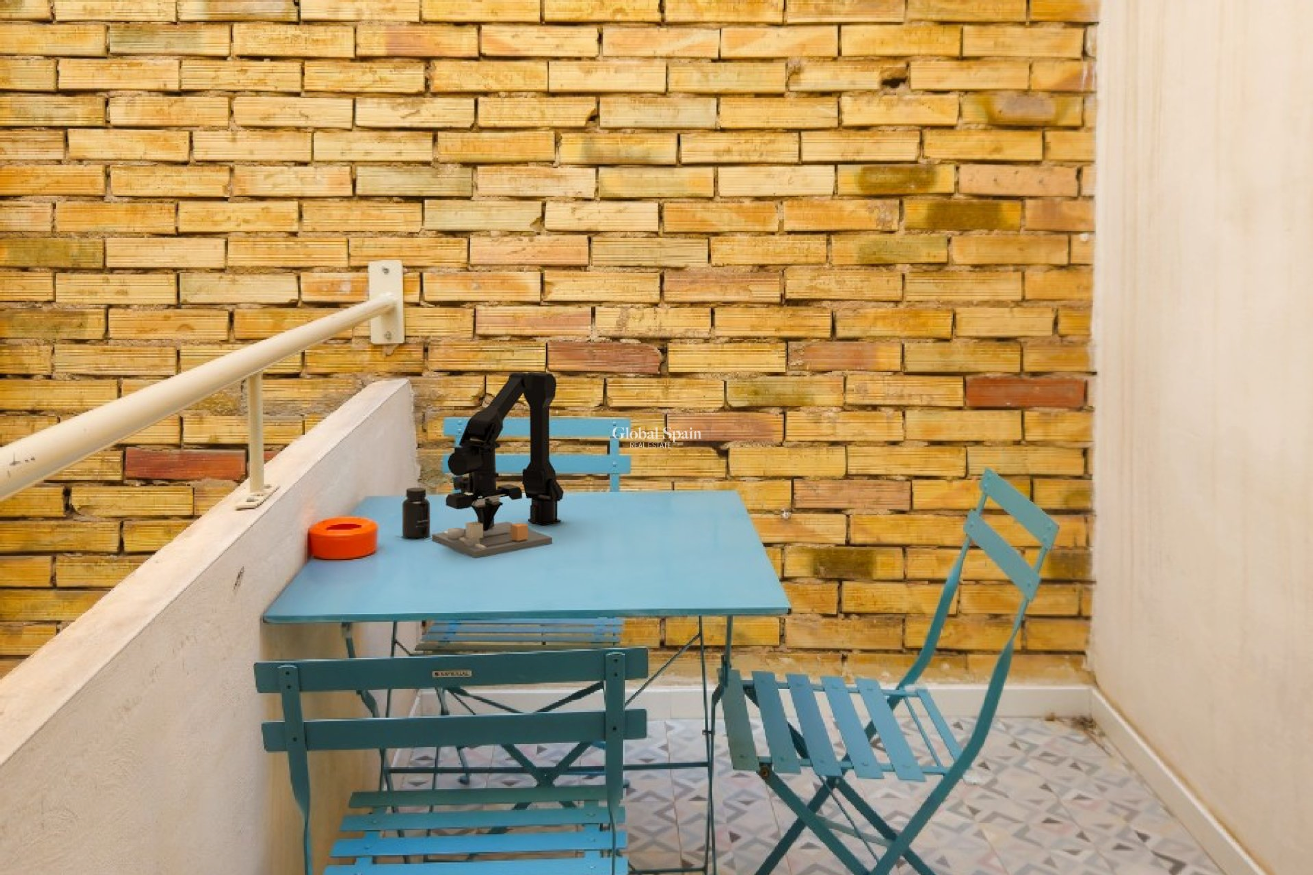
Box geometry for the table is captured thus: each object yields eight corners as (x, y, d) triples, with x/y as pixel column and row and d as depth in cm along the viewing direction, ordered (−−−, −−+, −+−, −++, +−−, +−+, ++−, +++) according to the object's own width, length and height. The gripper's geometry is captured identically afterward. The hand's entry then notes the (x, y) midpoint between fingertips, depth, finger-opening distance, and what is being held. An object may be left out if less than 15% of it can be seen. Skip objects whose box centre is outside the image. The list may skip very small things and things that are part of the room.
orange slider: (520, 536, 302) (520, 522, 301) (527, 538, 299) (527, 524, 299) (510, 538, 300) (510, 524, 299) (517, 540, 298) (517, 526, 297)
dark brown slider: (487, 524, 313) (487, 511, 312) (494, 526, 311) (494, 513, 310) (477, 526, 311) (477, 512, 310) (484, 528, 309) (483, 514, 308)
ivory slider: (476, 535, 302) (476, 521, 302) (482, 537, 300) (482, 523, 299) (465, 537, 300) (465, 523, 300) (472, 539, 298) (472, 525, 297)
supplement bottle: (424, 540, 304) (423, 492, 302) (398, 538, 305) (397, 491, 303) (434, 533, 311) (433, 487, 309) (409, 531, 312) (408, 485, 310)
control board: (507, 527, 318) (507, 513, 318) (552, 543, 303) (552, 529, 303) (432, 540, 304) (432, 526, 304) (475, 557, 289) (475, 543, 289)
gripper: (498, 458, 311) (499, 518, 314) (433, 468, 299) (435, 530, 302) (523, 465, 303) (524, 527, 305) (457, 475, 291) (458, 539, 294)
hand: (485, 530), depth 302 cm, fingers closed
